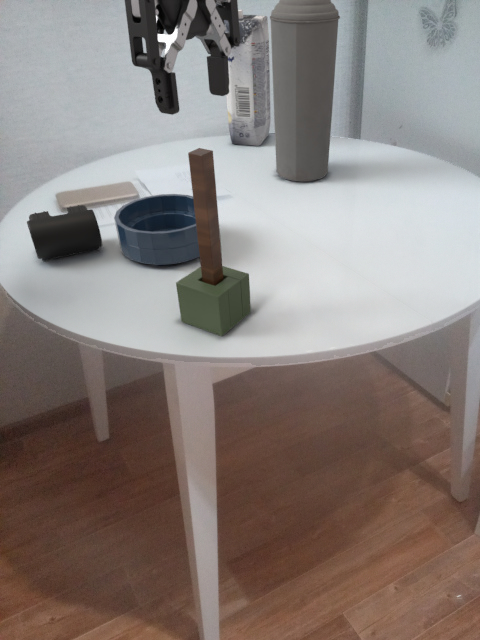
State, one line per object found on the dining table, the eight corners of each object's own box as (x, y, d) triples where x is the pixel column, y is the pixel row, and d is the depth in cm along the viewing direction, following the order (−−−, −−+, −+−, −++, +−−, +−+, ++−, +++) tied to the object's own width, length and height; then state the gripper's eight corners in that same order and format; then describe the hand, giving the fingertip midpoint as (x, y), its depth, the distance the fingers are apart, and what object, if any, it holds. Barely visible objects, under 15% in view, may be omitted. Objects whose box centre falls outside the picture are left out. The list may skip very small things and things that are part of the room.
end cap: (41, 269, 87) (28, 228, 83) (35, 250, 92) (23, 211, 88) (105, 255, 90) (96, 216, 86) (96, 238, 95) (87, 200, 91)
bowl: (174, 278, 85) (169, 241, 81) (101, 254, 91) (93, 219, 87) (233, 239, 95) (231, 205, 91) (164, 220, 101) (159, 187, 97)
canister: (260, 177, 118) (254, -28, 95) (293, 160, 126) (294, -32, 104) (312, 189, 112) (318, -25, 90) (342, 170, 120) (355, -30, 98)
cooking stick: (218, 322, 75) (202, 155, 61) (206, 318, 76) (187, 152, 62) (226, 315, 76) (213, 150, 63) (215, 311, 77) (198, 147, 63)
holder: (222, 336, 73) (218, 296, 69) (181, 321, 75) (175, 282, 72) (251, 312, 77) (249, 273, 73) (211, 299, 80) (207, 261, 76)
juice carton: (273, 135, 141) (270, 7, 123) (262, 148, 133) (258, 13, 116) (239, 133, 142) (232, 6, 125) (226, 145, 134) (217, 12, 117)
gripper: (193, -95, 55) (208, 86, 65) (84, -97, 46) (121, 114, 56) (256, -97, 52) (261, 93, 62) (153, -99, 43) (180, 125, 53)
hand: (195, 103), depth 59 cm, fingers open, 8 cm apart
